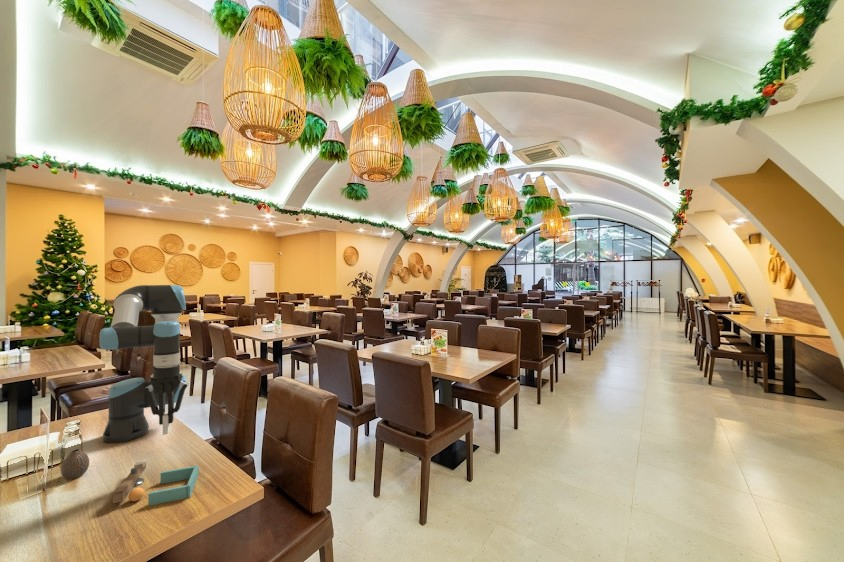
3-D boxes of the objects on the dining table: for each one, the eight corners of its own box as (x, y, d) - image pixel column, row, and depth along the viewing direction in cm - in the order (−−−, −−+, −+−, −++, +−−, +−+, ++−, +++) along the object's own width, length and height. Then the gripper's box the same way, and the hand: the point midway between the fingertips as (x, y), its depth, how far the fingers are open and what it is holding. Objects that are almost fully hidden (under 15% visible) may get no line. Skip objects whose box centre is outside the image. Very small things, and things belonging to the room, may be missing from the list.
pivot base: (127, 481, 115) (127, 479, 115) (146, 477, 117) (146, 476, 117) (121, 489, 111) (121, 488, 111) (140, 485, 113) (140, 484, 113)
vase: (71, 483, 114) (71, 456, 114) (54, 480, 116) (55, 454, 116) (94, 471, 121) (94, 446, 121) (79, 469, 122) (79, 444, 122)
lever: (137, 471, 120) (137, 459, 120) (145, 469, 121) (145, 458, 121) (112, 505, 102) (112, 492, 102) (123, 503, 103) (123, 490, 103)
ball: (131, 498, 107) (131, 486, 106) (145, 495, 108) (145, 484, 108) (126, 505, 103) (126, 493, 103) (141, 502, 105) (141, 490, 105)
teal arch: (161, 482, 115) (161, 471, 115) (198, 475, 119) (198, 465, 119) (148, 505, 103) (148, 494, 103) (190, 497, 107) (190, 486, 107)
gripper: (140, 369, 116) (139, 440, 115) (186, 366, 121) (185, 434, 121) (147, 364, 123) (147, 431, 122) (191, 361, 128) (190, 425, 127)
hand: (166, 432), depth 121 cm, fingers closed
